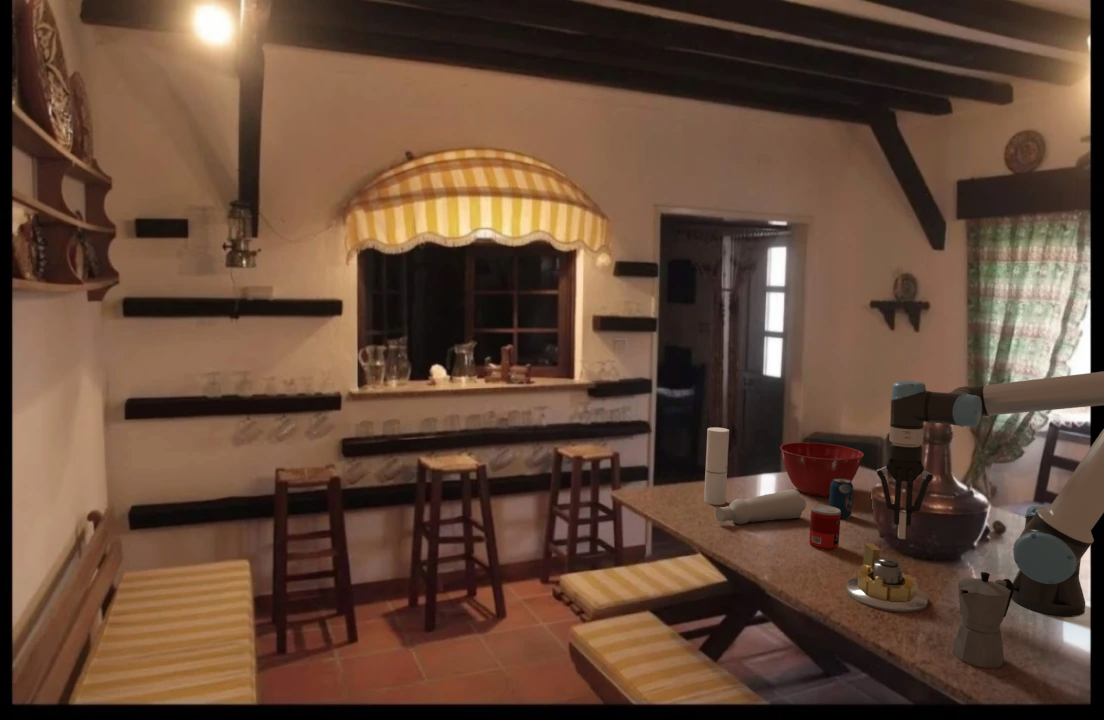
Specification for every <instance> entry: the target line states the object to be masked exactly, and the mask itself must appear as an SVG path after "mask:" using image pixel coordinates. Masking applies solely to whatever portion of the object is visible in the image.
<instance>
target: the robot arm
mask: <svg viewBox="0 0 1104 720" xmlns="http://www.w3.org/2000/svg"><path fill="white" fill-rule="evenodd" d="M891 388H892V389H891V396H890V397H891V398H890V399H889V400H890V422H889V423H890V424H889V436H888V437H889V438H888V440H889V442H890V443H889V445H888V460H887V462H886V463H885V466H884V467H881V468H877V469H876V474H877V476H878V477H879V479H880V481H881V482H880V483H881V486H882V490H883V495H884V500H885V504H886V508H887V509H888V510H892V511H893V523H894V525H897V538H898V539H900V540H906V528H907V526H911V524H912V514H913V513H914V512H915V513H916V512H920V510H921V507H922V504H923V501H924V498H925V495H926V493H927V489H928V486H929V483H931V482H932V480H933V479H934V475H933V473H932V472H929V471H927V470H926V469H925V468H924V464H923V446H922V444H924V443H923V442H924V427H925V426H924V423H933V424H943V425H951V426H957V427H961V428H963V427H974V428H975V427H977V426H978V425H979V424H980V421H981V420H982V417H988V416H998V415H999V416H1000V415H1008V414H1009V415H1010V414H1019V413H1020V414H1021V413H1030V412H1031V413H1032V412H1041V411H1042V412H1045V411H1053V410H1055V411H1056V410H1064V409H1065V410H1066V409H1067V410H1068V409H1075V408H1076V409H1078V408H1087V407H1098V406H1099V407H1100V406H1104V371H1097V372H1089V373H1088V372H1087V373H1079V374H1070V375H1062V376H1054V377H1045V378H1036V379H1029V380H1027V379H1026V380H1019V381H1012V382H1011V381H1010V382H1003V383H994V384H986V385H985V384H984V385H977V386H960V387H959V386H958V387H957V388H956V389H953V390H952V391H949V392H940V391H939V392H938V391H935V392H934V391H930V390H927V387H926V383H924V382H921V381H914V380H913V381H912V380H898V381H896V382H893V384H892V387H891ZM888 472H889V474H890V475H891V476H892V478H893V479H894V481H895V482H894V501H893V502H894V503H892V500H891V494H890V491H889V484H888V480H887V477H888ZM920 476H921V479H922V480H921V482H920V485H919V488H918V490H917V494H916V497H915V499H914V503H913V492H914V490H913V489H914V487H913V486H914V481H916V480H917V478H919V477H920ZM902 482H906V483H905V484H906V486H905V489H906V490H905V507H904V509H905V510H904V509H903V510H902V509H901V501H902V500H901V498H902V497H901V495H902V484H903V483H902ZM1103 514H1104V428H1103V429H1102V431H1101V432H1100V433H1099V435H1098V437H1096V438H1095V440H1094V442H1093V443H1092V445H1091V446H1090V448H1089V449H1088V450H1087V452H1086V454H1085V455H1084V457H1083V458H1082V459H1081V461H1080V462H1079V464H1078V465H1077V467H1076V468H1075V469H1074V471H1073V473H1072V474H1071V476H1070V477H1069V478H1068V480H1067V481H1066V483H1065V484H1064V486H1063V487H1062V488H1061V490H1060V491H1059V493H1058V494H1057V495H1056V497H1055V498H1054V500H1053V502H1051V504H1050V506H1049V507H1047V506H1040V505H1039V506H1038V505H1037V506H1035V505H1033V506H1029V507H1028V508H1027V509H1026V514H1025V515H1024V518H1025V524H1024V529H1023V530H1022V532H1021V534H1020V536H1019V537H1018V538H1017V539H1016V541H1015V542H1014V544H1013V548H1012V550H1013V559H1014V563H1015V564H1016V566H1017V568H1018V569H1019V570H1018V571H1017V572H1016V573H1017V574H1016V575H1015V577H1014V579H1013V582H1012V583H1013V585H1014V588H1015V589H1014V593H1013V595H1012V598H1011V601H1012V600H1013V602H1015V603H1017V604H1018V605H1020V606H1022V607H1024V608H1027V609H1029V610H1032V611H1036V612H1038V613H1043V614H1048V615H1053V616H1060V617H1078V616H1080V615H1083V614H1084V613H1085V612H1086V600H1085V596H1084V592H1083V588H1082V585H1081V584H1082V583H1081V581H1080V570H1081V559H1082V558H1083V557H1084V555H1085V554H1086V552H1087V551H1088V550H1089V548H1090V546H1091V545H1092V544H1093V543H1094V541H1095V539H1094V537H1093V534H1092V530H1093V528H1094V527H1095V525H1096V524H1097V523H1098V521H1099V520H1100V518H1101V517H1102V516H1103Z"/></svg>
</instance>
